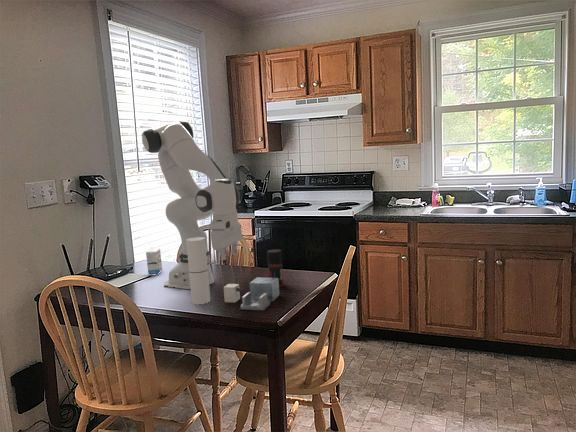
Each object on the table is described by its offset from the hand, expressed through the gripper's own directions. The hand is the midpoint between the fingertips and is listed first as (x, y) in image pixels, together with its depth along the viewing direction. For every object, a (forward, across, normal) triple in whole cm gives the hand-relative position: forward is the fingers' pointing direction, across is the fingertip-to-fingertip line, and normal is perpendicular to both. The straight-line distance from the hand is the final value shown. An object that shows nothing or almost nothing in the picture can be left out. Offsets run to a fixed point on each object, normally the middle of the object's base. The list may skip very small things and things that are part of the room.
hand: (229, 256), depth 182 cm
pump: (+17, 0, 0) cm, 17 cm away
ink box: (+17, -36, -58) cm, 71 cm away
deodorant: (+18, -21, +11) cm, 29 cm away
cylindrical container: (+18, +3, -12) cm, 22 cm away
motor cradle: (+17, 0, +12) cm, 21 cm away
